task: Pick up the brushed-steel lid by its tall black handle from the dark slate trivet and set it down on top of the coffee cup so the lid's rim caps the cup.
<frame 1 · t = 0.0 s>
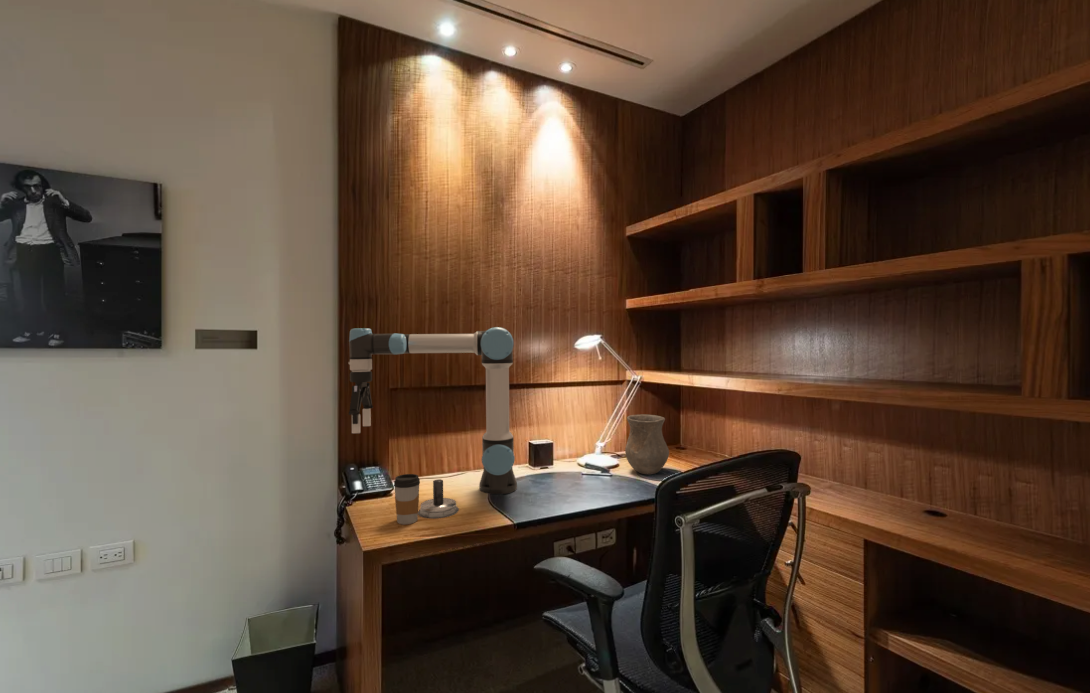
hand: (361, 429, 168), 28 cm above the table, fingers open, 13 cm apart
coffee cup: (407, 523, 153), on the table
trivet: (438, 512, 161), on the table
lid: (438, 510, 161), resting on trivet
vase: (646, 472, 208), on the table
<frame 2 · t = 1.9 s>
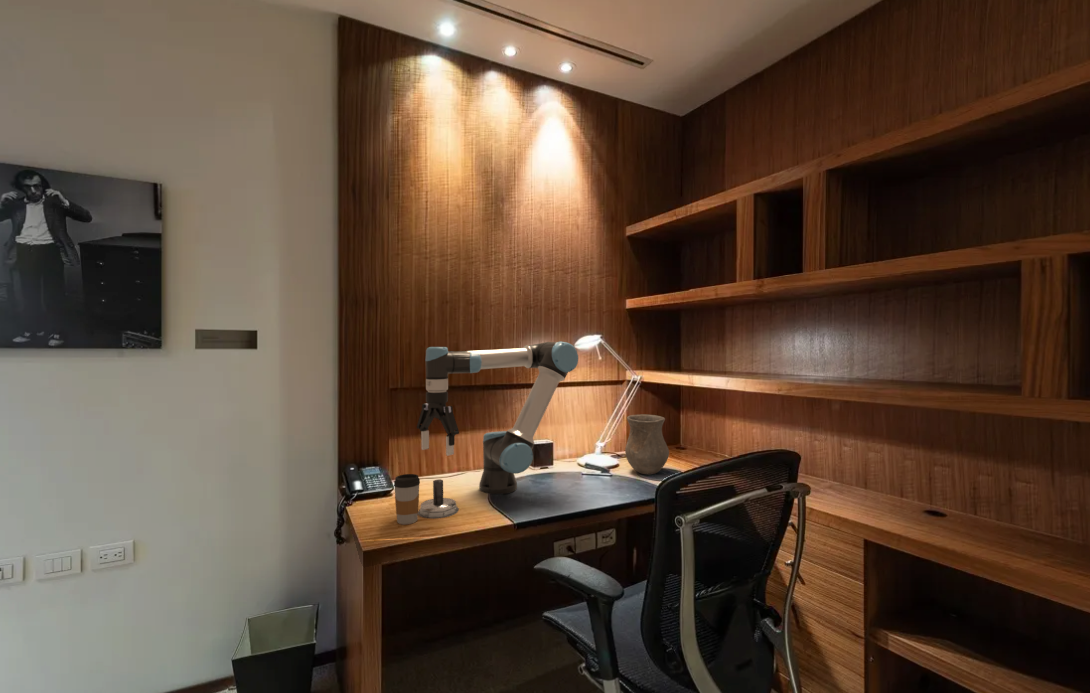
hand: (437, 452, 161), 21 cm above the table, fingers open, 13 cm apart
nothing on the table moved.
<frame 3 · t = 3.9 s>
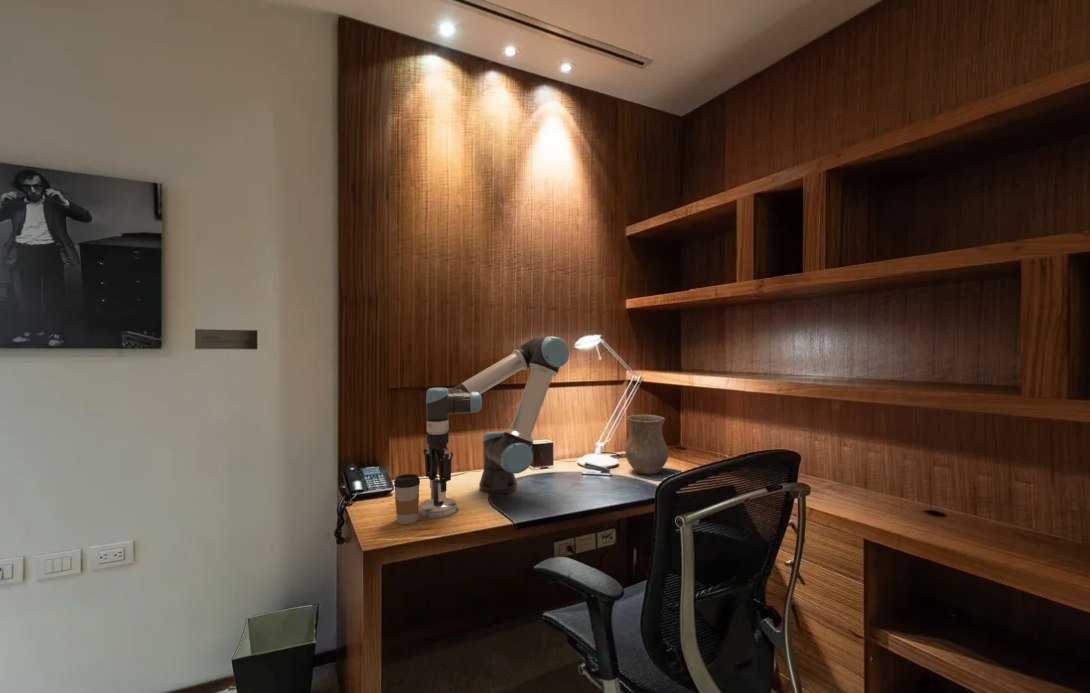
hand: (438, 499, 161), 5 cm above the table, fingers closed on lid, 3 cm apart
lid: (438, 510, 161), resting on trivet, touching gripper
everything else where it was.
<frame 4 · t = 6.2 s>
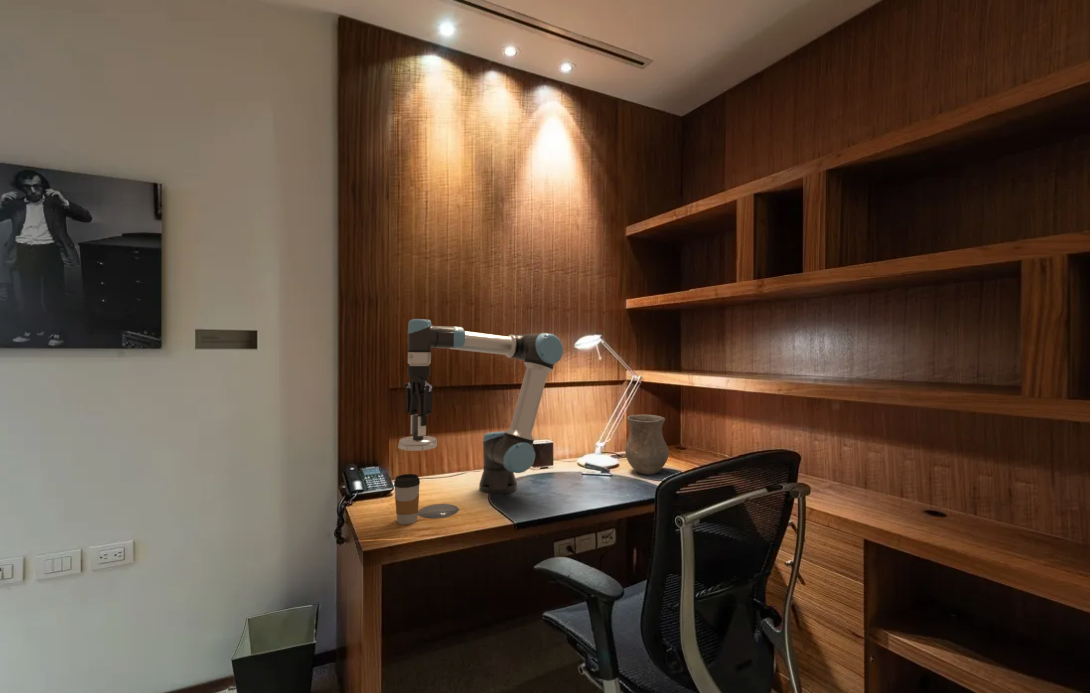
hand: (418, 434, 156), 28 cm above the table, fingers closed on lid, 3 cm apart
lid: (418, 446, 156), point 24 cm above the table, touching gripper
everything else where it was.
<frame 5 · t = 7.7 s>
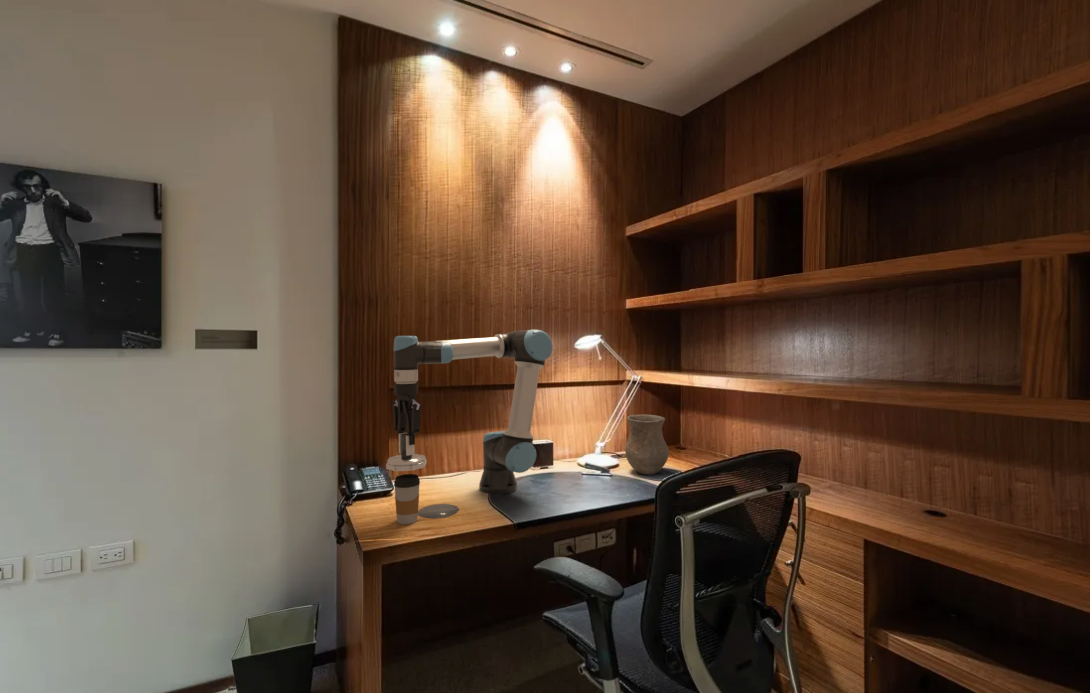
hand: (406, 453, 152), 23 cm above the table, fingers closed on lid, 3 cm apart
lid: (406, 465, 152), point 19 cm above the table, touching gripper
everything else where it was.
when the fingers open (19 cm above the table, at t = 8.8 s): lid stays where it is, resting on coffee cup.
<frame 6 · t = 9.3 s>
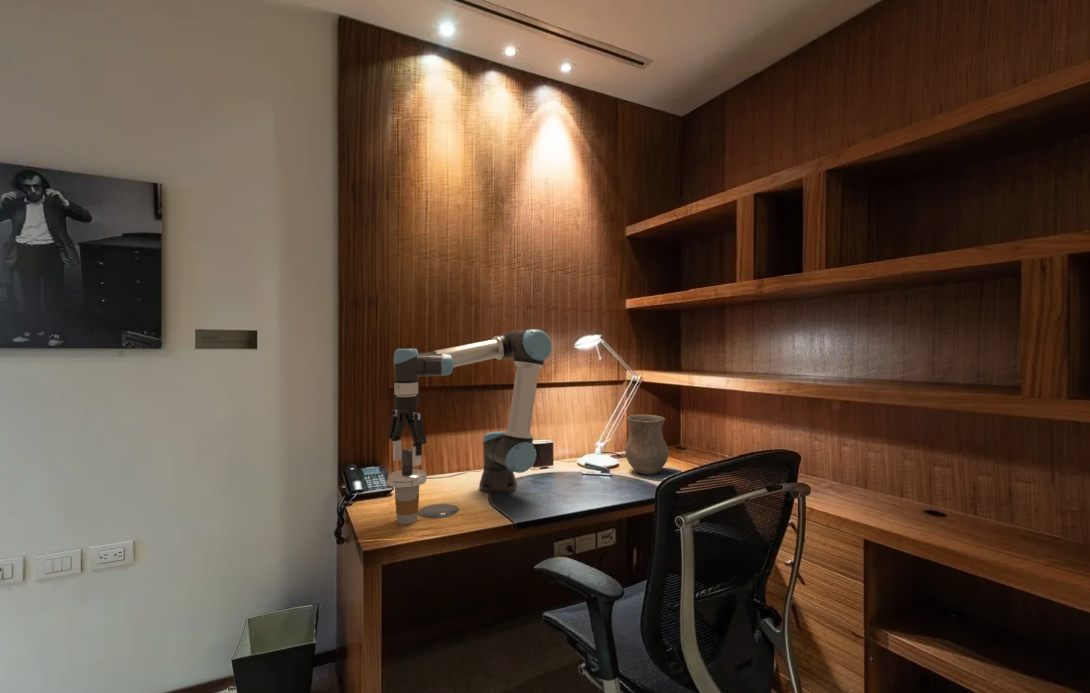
hand: (407, 462, 152), 20 cm above the table, fingers open, 10 cm apart
coffee cup: (407, 523, 153), on the table, touching lid
lid: (407, 481, 152), point 13 cm above the table, touching coffee cup
everything else where it was.
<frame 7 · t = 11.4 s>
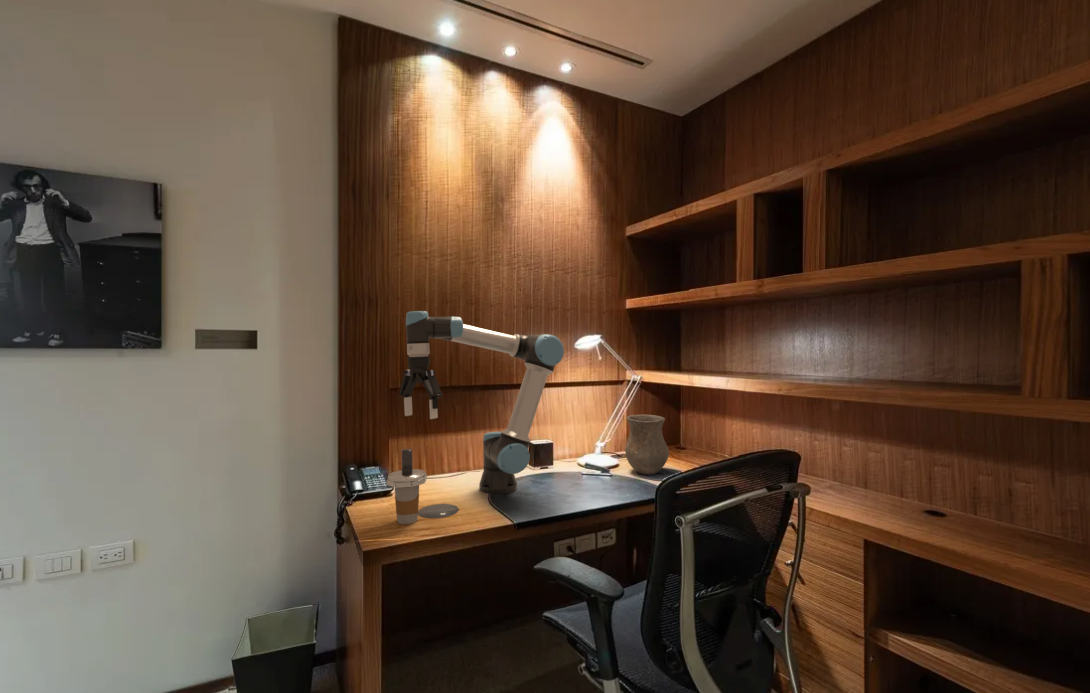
hand: (420, 417, 161), 33 cm above the table, fingers open, 13 cm apart
nothing on the table moved.
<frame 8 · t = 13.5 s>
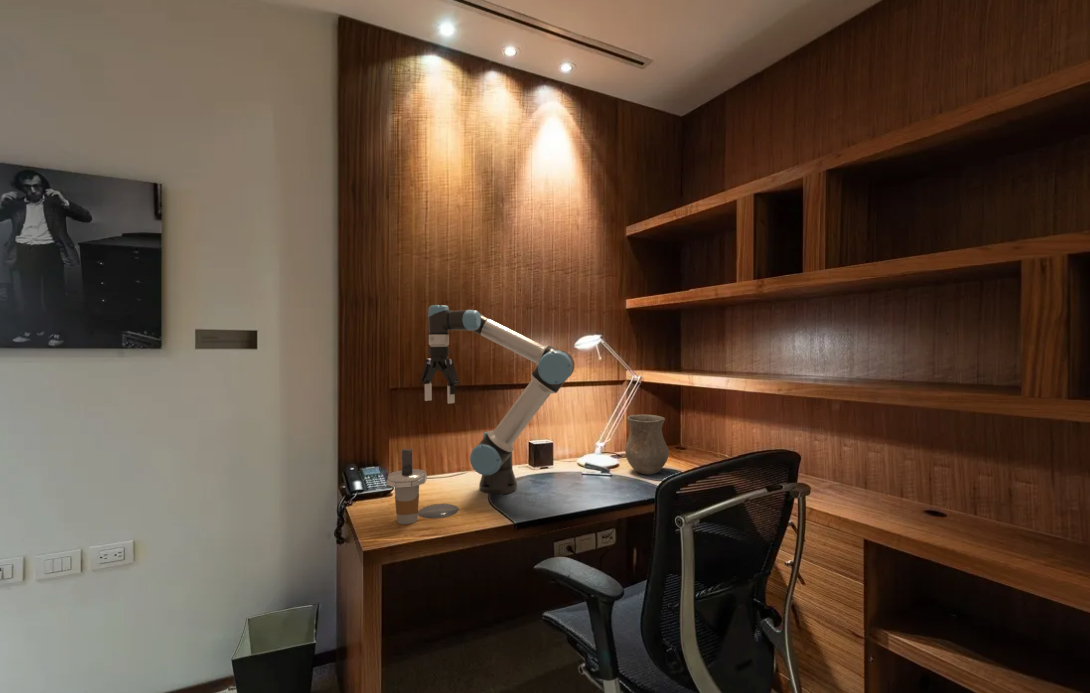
hand: (439, 401, 176), 37 cm above the table, fingers open, 13 cm apart
nothing on the table moved.
at the end: lid 0.2 cm from the coffee cup (horizontally); lid point 13.5 cm above the table; lid tilted 0° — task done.
